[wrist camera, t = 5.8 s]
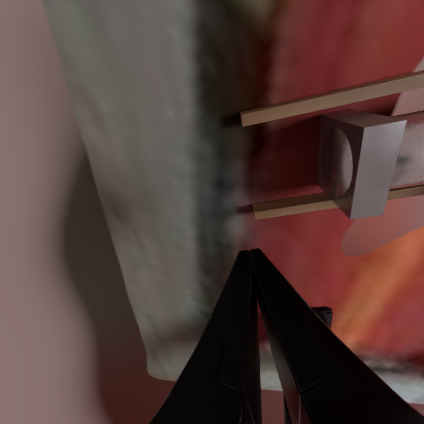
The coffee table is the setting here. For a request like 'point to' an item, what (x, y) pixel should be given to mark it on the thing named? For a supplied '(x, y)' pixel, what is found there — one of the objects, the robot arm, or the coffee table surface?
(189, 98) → the coffee table surface
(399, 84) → the cradle rails
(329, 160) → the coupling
